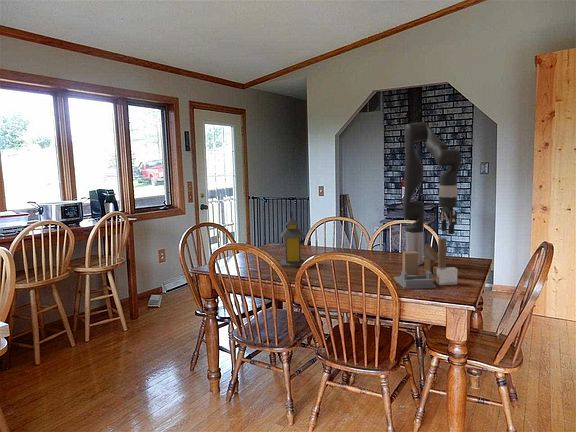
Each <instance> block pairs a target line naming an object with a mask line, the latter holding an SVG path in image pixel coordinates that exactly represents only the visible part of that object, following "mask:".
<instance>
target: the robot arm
mask: <svg viewBox="0 0 576 432" xmlns="http://www.w3.org/2000/svg"><path fill="white" fill-rule="evenodd" d="M423 141H426V142H425V146H426V147H425V148H426V150H427V151H428V152H429V153H430V154H431V155H432V156H433V158H434V161H435V164H437V165H438V166H440V167H449V168H448V170H445V171H442V172H440V173H439V189H438V206H439V215H438V221H439V222H440V223H441V224H440V225H441V226H440V228H441V229H440V230H441V232H447V230H448V235H453V234H455V225H458V211H457V210H456V209H455V210H454V208H455V207H457V206H458V187H457V186H458V185H457V184H458V183H457V182H458V174H459V171H460V170H459V169H460V166H461V163H462V156H463V155H462V153H461V152H460V150H459V149H454V148H453V149H449V147H448V146H447V145H446V144H447V143H444V142H443V141H442V140H441V139H439V137H437V135H436V134H435V132H434V131H433V129H432V128H431V127H430V125H429V124H428V123H426V122H424V121H420V122H419V121H418V122H412V123H411V122H410V123H407V124H405V127H404V147H405V148H404V149H405V150H404V151H405V152H404V153H405V154H404V155H405V156H404V157H405V159H404V161H405V162H404V190H403V191H404V194H403V204H402V215H403V218H404V219H406V220H409V219H410V220H416V221H414V222H413V223H411V224H408V225H406V227H405V251H416V252H417V253H418V266H419V265H424V245H425V241H424V233H425V232H424V229H425V228H424V227H425V225H424V223H425V222H424V221H425V205H424V202H423V201H421V200H420V201H417V200H416V201H411V199H412V197H413V195H414V193H415V191H416V190H417V189H418V187H420V185H421V183H422V182H423V179H424V169H425V167H424V165H423V163H422V161H421V159H420V158H419V156H418V154H417V152H416V151H415V143H416V142H417V143H418V142H423ZM447 227H448V229H447Z"/></svg>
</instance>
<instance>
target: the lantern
mask: <svg viewBox="0 0 576 432" xmlns="http://www.w3.org/2000/svg"><path fill="white" fill-rule="evenodd" d="M293 210H294V209H290V219H288V221H287V222H286V223H285V226H286V228H285V229H284V230H283V231H282V232H281V233H280V235H279V238H280V239H281V238H283V239H285V240H284V241H285V259H280V267H281V266H295V267H301V266H300V265H301V264H302V263H303V262H304V261H306V259H305V258H302V257H301V238H305V237H306V234H305V233H304V232H303V231H302V230H301V229H300V228H299V227H298V226H299V222H298V221H297V220H296V219H295V218H294V211H293ZM306 262H307V261H306Z"/></svg>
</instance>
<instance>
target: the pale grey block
mask: <svg viewBox="0 0 576 432" xmlns="http://www.w3.org/2000/svg"><path fill="white" fill-rule="evenodd" d="M436 284H437V285H438V286H447V285H452V286H453V285H458V268H457V267H454V266H452V267H447V266H446V268H437V275H436Z"/></svg>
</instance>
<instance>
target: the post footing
mask: <svg viewBox="0 0 576 432" xmlns="http://www.w3.org/2000/svg"><path fill="white" fill-rule="evenodd" d="M401 254H402V256H401V257H402V259H401V260H402V262H401V263H402V270H401V271H400V272H401V275H399V276H393V280H395V282H396V283H397V284H398V283H399V284H400V285H401V286H402V287H403V288H404V289H403V288H402V287H401V286H400V285H399V284H398V285H399V286H400V287H401V288H402V289H403V290H411V289H412V290H415V289H416V290H417V289H436V288H437V285H436V284H435V283H434V278H433V276H432V275H433V273H431V272H430V271H428V270H425V274H419V265H418V253H417V252H416V251H406V250H405V251H402V253H401Z"/></svg>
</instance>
